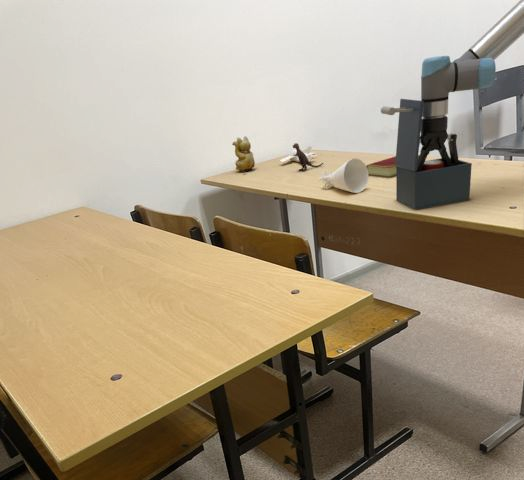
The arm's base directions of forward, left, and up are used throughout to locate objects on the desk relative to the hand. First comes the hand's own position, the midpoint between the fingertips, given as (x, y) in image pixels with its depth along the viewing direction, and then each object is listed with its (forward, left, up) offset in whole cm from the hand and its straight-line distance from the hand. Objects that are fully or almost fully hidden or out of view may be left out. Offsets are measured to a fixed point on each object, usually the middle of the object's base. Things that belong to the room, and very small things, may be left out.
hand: (432, 194), depth 165 cm
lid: (+8, +1, +19) cm, 20 cm away
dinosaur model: (+25, -78, -2) cm, 82 cm away
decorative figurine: (+51, -96, -2) cm, 109 cm away
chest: (0, 0, -2) cm, 2 cm away
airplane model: (+25, -97, -2) cm, 100 cm away
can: (0, 0, -1) cm, 1 cm away
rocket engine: (+20, -32, -2) cm, 38 cm away
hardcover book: (-5, -49, -2) cm, 49 cm away
